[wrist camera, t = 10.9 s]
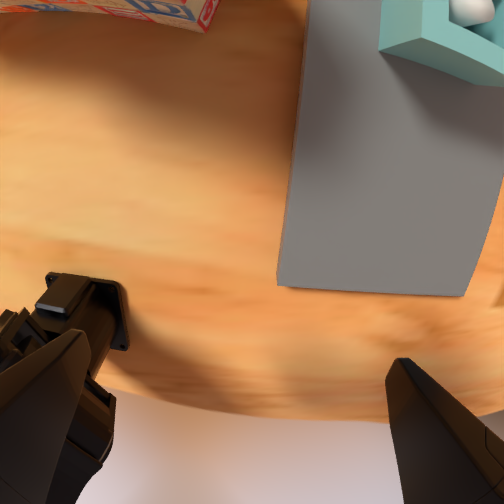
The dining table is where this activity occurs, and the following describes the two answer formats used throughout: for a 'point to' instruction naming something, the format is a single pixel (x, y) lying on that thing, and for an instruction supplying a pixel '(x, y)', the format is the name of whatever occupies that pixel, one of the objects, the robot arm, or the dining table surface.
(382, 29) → the teal hollow block
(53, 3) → the stack of blocks
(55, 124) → the dining table surface
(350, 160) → the grey piece
